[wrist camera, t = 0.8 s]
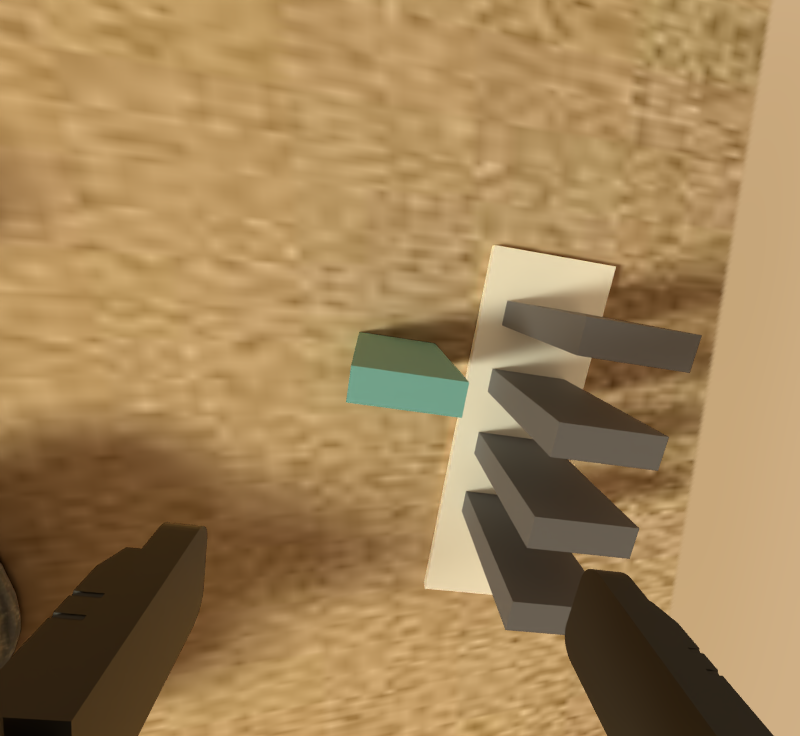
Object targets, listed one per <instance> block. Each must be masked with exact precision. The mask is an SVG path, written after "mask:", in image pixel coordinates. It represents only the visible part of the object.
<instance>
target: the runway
mask: <svg viewBox="0 0 800 736" xmlns="http://www.w3.org/2000/svg"><path fill="white" fill-rule="evenodd" d="M615 269H616V266H610V265H604V264H599V263H593V262H587V261H582V260H576V259H571V258H565V257H559V256H554V255H548V254H542V253H537V252H531V251H526V250H520V249H514V248H509V247H503V246H498V245H493V246H492V250H491V255H490V260H489V264H488V269H487V274H486V279H485V284H484V289H483V294H482V299H481V304H480V309H479V314H478V319H477V324H476V329H475V334H474V338H473V343H472V348H471V353H470V358H469V363H468V368H467V373H466V379H467V380H468V381H469V386H468V391H467V396H466V401H465V405H464V410H463V415H462V418H459V417H457V422H456V427H455V432H454V437H453V442H452V447H451V452H450V457H449V462H448V467H447V472H446V477H445V482H444V487H443V492H442V496H441V501H440V506H439V511H438V516H437V521H436V526H435V531H434V536H433V541H432V546H431V551H430V556H429V561H428V566H427V571H426V575H425V580H424V585H425V589H435V590H446V591H457V592H468V593H478V594H489V595H492V592H491V589H490V586H489V584H488V581H487V578H486V576H485V573H484V570H483V568H482V565H481V562H480V559H479V557H478V554H477V551H476V549H475V546H474V543H473V540H472V538H471V535H470V532H469V530H468V527H467V524H466V522H465V519H464V516H463V513H462V507H463V503H464V498H465V493H466V491H470V492H478V493H487V494H495V495H497V493H496V492H495V490H494V488H493V486H492V485H491V483H490V481H489V479H488V477H487V476H486V474H485V472H484V470H483V468H482V467H481V465H480V463H479V461H478V459H477V458H476V456H475V454H474V452H475V447H476V443H477V438H478V433H479V432H483V433H490V434H498V435H506V436H513V437H521V438H528V439H533V438H532V437H531V436H530V435H529V434H528V433H527V432H526V431H525V430H524V429H523V428H522V427H521V426H520V425H519V424H518V423H517V422H516V421H515V420H514V419H513V418H512V417H511V416H510V414H509V413H508V412H507V411H506V410H505V409H504V408H503V407H502V406H501V405H500V404H499V403H498V402H497V401H496V400H495V399H494V398H493V397H492V396H491V395H490V394H489V393H488V387H489V382H490V378H491V373H492V369H498V370H505V371H512V372H519V373H525V374H532V375H539V376H546V377H552V378H559V379H565V380H566V381H568V382H570V383H572V384H574V385H575V386H577V387H579V388H581V389H583V388H584V384H585V380H586V377H587V373H588V369H589V366H590V362H591V358H590V357H583V356H577V355H574V354H572V353H569V352H567V351H564V350H562V349H559V348H557V347H554V346H552V345H549V344H547V343H544V342H542V341H539V340H537V339H534V338H532V337H529V336H527V335H525V334H522V333H520V332H517V331H515V330H512V329H510V328H507V327H505V326H502V322H503V318H504V313H505V308H506V304H507V301H512V302H518V303H524V304H530V305H536V306H543V307H549V308H555V309H561V310H567V311H573V312H579V313H585V314H590V315H595V316H601V317H603V313H604V310H605V306H606V302H607V298H608V295H609V291H610V287H611V284H612V280H613V276H614V272H615Z"/></svg>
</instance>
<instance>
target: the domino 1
mask: <svg viewBox="0 0 800 736" xmlns="http://www.w3.org/2000/svg"><path fill="white" fill-rule="evenodd" d="M468 386H469V381H468V380H467V379H466V378H465V377H464V376H463V375H462V374H461V372H460V371H459V370H458V369H457V368H456V367H455V366H454V365H453V363H452V362H451V361H450V360H449V359H448V358H447V357H446V356H445V354H444V353H443V352H442V351H441V350H440V349H439V348H438V347H437V345H436V344H435V343H429V342H423V341H416V340H409V339H403V338H396V337H390V336H383V335H376V334H370V333H363V332H359V336H358V340H357V344H356V348H355V352H354V356H353V360H352V364H351V371H350V378H349V385H348V392H347V400H346V402H348V403H355V404H363V405H370V406H377V407H385V408H392V409H400V410H407V411H415V412H422V413H430V414H437V415H444V416H452V417H459V418H462V415H463V410H464V405H465V401H466V396H467V391H468Z"/></svg>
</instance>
